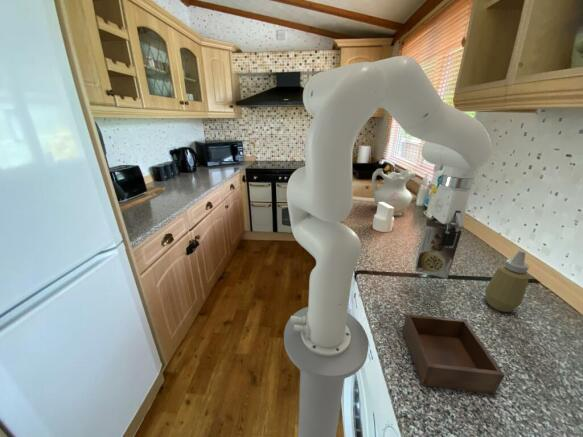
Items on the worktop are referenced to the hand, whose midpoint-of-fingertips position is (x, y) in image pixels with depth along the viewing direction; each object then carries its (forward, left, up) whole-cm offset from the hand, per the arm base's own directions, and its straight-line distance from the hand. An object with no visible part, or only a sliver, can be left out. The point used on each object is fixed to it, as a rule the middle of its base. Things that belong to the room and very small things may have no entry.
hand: (439, 238), depth 74 cm
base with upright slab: (-6, +41, -16) cm, 45 cm away
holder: (-8, -29, -16) cm, 34 cm away
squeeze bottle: (+16, -9, -16) cm, 25 cm away
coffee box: (0, 0, -12) cm, 12 cm away
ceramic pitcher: (+2, +64, -16) cm, 66 cm away
